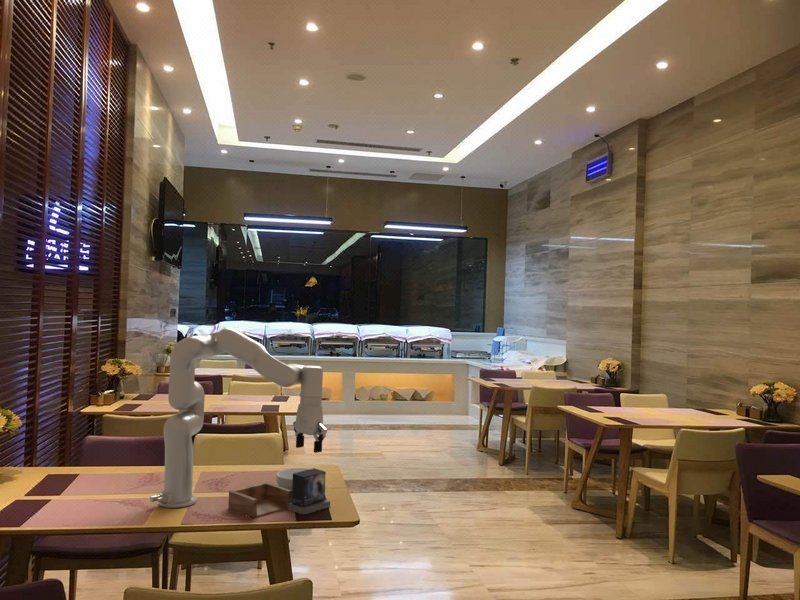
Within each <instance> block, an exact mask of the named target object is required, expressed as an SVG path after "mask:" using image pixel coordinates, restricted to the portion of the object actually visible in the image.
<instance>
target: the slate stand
mask: <svg viewBox="0 0 800 600" xmlns="http://www.w3.org/2000/svg"><path fill="white" fill-rule="evenodd" d="M328 508H331V500H327V499H325V501H321V502H318V503H314V504H311V505H307V506H304V507H302V506H299V505H296V504H293V503H291V502H289V503H287V509H286V510H289V509H290V510H289V511H291V510H292V511H291V512H294V511H295V512H294V513H297V514H300V515H302V514H303V516H304V514H305V515H307V514H311V513H315V512H318V511H321V509H322V510H325V509H328ZM317 510H318V511H317Z"/></svg>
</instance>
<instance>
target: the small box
mask: <svg viewBox="0 0 800 600" xmlns="http://www.w3.org/2000/svg"><path fill="white" fill-rule="evenodd" d="M308 469H309V470H305V471H301V472H297V473H293V484H292V502H291V503H293V504H296V505H299V506H302V507H304V506H307V505H311V504H314V503H318V502H321V501H325V500H326V499H325V498H326V496H325V495H326V472H327V471H326V470H321V469H318V468H308Z"/></svg>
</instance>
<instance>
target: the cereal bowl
mask: <svg viewBox="0 0 800 600" xmlns="http://www.w3.org/2000/svg"><path fill="white" fill-rule="evenodd" d="M309 469H310V468H305V467H304V468H303V467H302V468H301V467H294V468H285V469H282V470H279V471H278V472H276V483H277V484H276V485H277V486H280V487H283V488H286V489H289V490H292V484H293V473H297V472H301V471H305V470H309Z"/></svg>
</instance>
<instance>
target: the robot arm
mask: <svg viewBox="0 0 800 600" xmlns="http://www.w3.org/2000/svg"><path fill="white" fill-rule="evenodd" d="M170 352H171V353H170V355H169V376H168V377H169V378H168V397H167V398H168V403H169V406H170V407H171V408H173V409H175V410H178V413H175V414H173V415H171V416H170V417H169V418H168V419H166V420H165V422H164V424H163V440H164V475H163V476H164V480H163V483H164V484H163V490H161V491H160V493H158V495H152V496H150V497H149V501H150V503H154V502H157V503H158V505H159V506H161V507H162V508H169V509H170V508H171V509H173V508H174V509H175V508H176V509H177V508H184V507H188V506H191V505H194V504H196V502H197V496H195V495H194V494H193V485H194V484H193V483H194V481H193V478H194V444H193V439H192V436H194V435H196V434H199V432H200V431H201V430H202V429H203V426H204V419H205V400H206V399H205V391H204V387H203V386H202V385H201V383H199V381H196V380H195V374H196V372H195V371H196V370H195V366H194V365H195V364H194V362H195V361H196V360H201V359H207V358H208V359H209V358H211V357H215V356H220V355H225V354H228V355H230V356H232V357H234V358H235V359H237V360H239V361H241V362H242V363H244V364H246V365H247V366H250V368H251V369H253V370H254V371H255V372H257V373H258V374H259V375H260V376H262V377H264V379H267V380H269V381H270V382H273V384H275V385H277V386H280V387H283V388H290V387H293V386H296V385H300V397H299V398H300V399H299V403H298V406H297V411H296V417H295V421H293V422H292V426H293V431H294V433H295V434H294V435H295V437H296V438H295V448H297V449H298V448H299V449H300V448H303V447H304V445H305V435H306V436H307V435H308V436H313V438H314V440H315V441H313V453H314V454H317V453H322V452H323V441H325V438H326V435H327V433H328V428H326V427H325V426H324V413H323V405H322V401H323V399H322V398H323V383H324V382H323V380H324V378H323V377H324V369H323V367H322V366H319V365H302V364H298V363H289V364H286V363H284V362H283V361H280V360H279V359H277V358H275V357H274V356H272V355H271V354H270V353H269V352H268V351H267V349H266V347H265V346H264V345H263V344H262V343H260V342H257V341H256V340H255V339H252V338H251V337H249V336H248V335H247V334H246V332H245V331H244V330H243V329H242V328H240V327H237V326H236V327H229V326H228V327H223V328H222V329H220V330H219V331H216V332H212V333H207V334H199V335H190V336H188V337H185V338H183V339H181V340H180V341H177V343H176V344H175V345H173V348H172V350H171V351H170Z"/></svg>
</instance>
